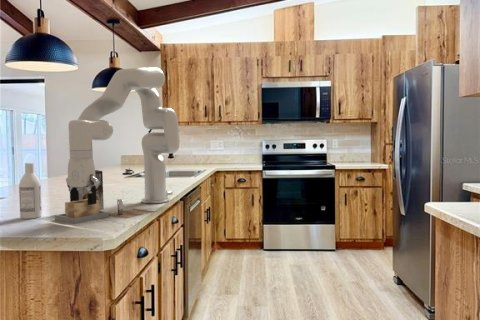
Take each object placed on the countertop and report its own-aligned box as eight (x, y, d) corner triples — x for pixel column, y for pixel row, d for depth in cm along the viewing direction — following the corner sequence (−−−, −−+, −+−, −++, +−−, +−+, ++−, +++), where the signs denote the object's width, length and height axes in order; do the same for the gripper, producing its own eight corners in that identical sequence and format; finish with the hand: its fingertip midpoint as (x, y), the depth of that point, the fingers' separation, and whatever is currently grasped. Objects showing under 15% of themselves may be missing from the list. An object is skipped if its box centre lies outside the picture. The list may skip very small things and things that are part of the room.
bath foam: (33, 214, 145) (31, 162, 144) (45, 216, 142) (44, 162, 141) (15, 218, 139) (14, 163, 138) (28, 219, 136) (27, 163, 135)
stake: (120, 215, 143) (120, 199, 143) (124, 216, 142) (124, 199, 142) (116, 216, 142) (116, 199, 141) (120, 216, 141) (119, 200, 140)
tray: (88, 214, 145) (88, 209, 145) (109, 217, 139) (108, 212, 139) (54, 221, 133) (54, 215, 133) (75, 225, 127) (75, 218, 127)
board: (134, 210, 154) (134, 208, 154) (156, 212, 148) (156, 211, 148) (103, 216, 141) (103, 214, 141) (126, 219, 135) (126, 218, 135)
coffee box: (95, 208, 158) (94, 169, 157) (104, 210, 154) (103, 170, 153) (74, 211, 151) (73, 171, 150) (82, 213, 147) (81, 171, 146)
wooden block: (77, 221, 130) (76, 204, 130) (65, 219, 134) (64, 202, 133) (99, 216, 138) (99, 200, 138) (87, 215, 142) (87, 199, 141)
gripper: (56, 155, 136) (58, 202, 138) (88, 156, 127) (90, 207, 129) (75, 154, 143) (77, 199, 144) (106, 155, 134) (108, 203, 135)
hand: (83, 203), depth 136 cm, fingers open, 9 cm apart
